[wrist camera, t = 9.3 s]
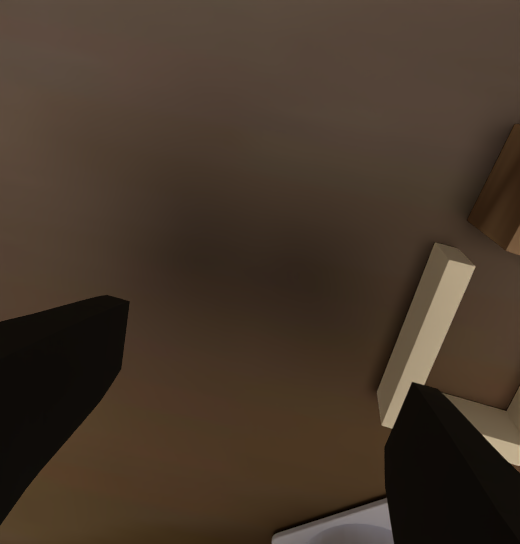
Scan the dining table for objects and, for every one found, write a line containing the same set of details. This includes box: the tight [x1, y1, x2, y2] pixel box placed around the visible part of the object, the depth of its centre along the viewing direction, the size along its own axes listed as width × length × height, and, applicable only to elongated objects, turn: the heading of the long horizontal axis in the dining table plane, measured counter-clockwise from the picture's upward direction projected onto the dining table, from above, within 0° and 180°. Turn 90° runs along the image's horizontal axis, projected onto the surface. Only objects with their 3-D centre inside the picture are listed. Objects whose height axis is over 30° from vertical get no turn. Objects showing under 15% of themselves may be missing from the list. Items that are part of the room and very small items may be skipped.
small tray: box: [377, 242, 520, 466], centre depth 19 cm, size 8×7×2 cm
